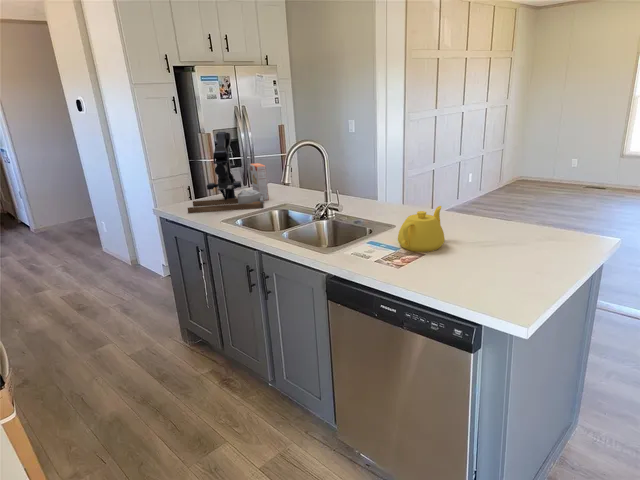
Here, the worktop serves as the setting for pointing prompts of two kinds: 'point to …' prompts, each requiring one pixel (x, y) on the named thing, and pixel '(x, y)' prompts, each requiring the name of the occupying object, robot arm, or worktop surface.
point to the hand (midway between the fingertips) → (226, 200)
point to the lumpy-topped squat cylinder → (248, 197)
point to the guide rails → (222, 206)
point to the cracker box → (259, 179)
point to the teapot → (422, 232)
